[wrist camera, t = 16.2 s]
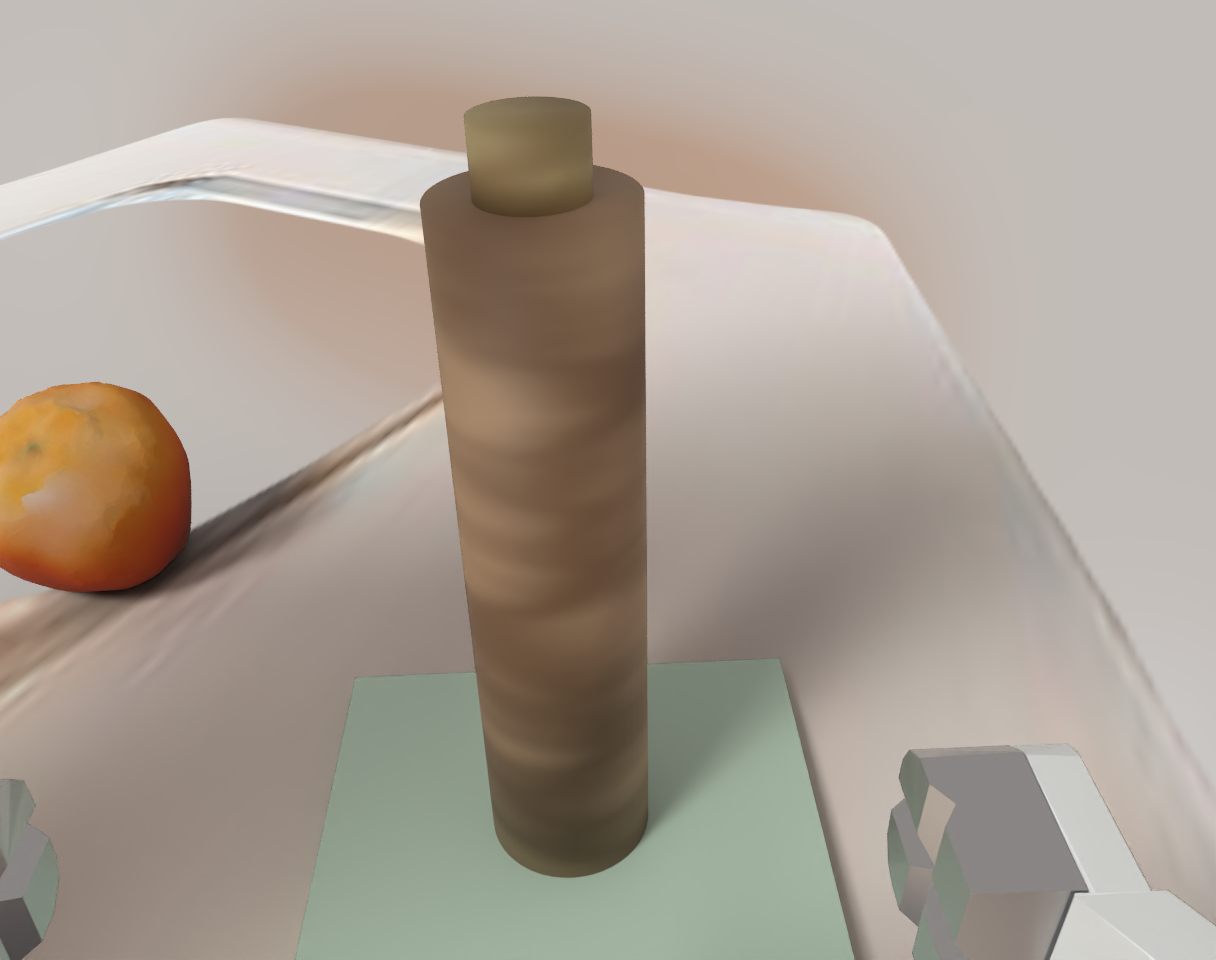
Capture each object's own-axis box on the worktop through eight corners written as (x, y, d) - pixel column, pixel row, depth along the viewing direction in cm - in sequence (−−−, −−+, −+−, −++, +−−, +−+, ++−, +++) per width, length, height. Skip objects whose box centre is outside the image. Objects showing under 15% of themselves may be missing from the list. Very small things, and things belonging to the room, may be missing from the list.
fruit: (268, 463, 46) (170, 360, 39) (197, 643, 43) (76, 566, 36) (104, 439, 48) (-18, 337, 41) (24, 609, 45) (-123, 530, 38)
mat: (285, 1040, 27) (280, 1026, 27) (358, 690, 37) (355, 677, 37) (861, 1010, 27) (864, 996, 27) (778, 671, 37) (779, 658, 37)
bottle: (490, 881, 30) (396, 151, 19) (497, 757, 34) (422, 87, 23) (653, 873, 30) (652, 143, 19) (643, 751, 34) (636, 80, 23)
